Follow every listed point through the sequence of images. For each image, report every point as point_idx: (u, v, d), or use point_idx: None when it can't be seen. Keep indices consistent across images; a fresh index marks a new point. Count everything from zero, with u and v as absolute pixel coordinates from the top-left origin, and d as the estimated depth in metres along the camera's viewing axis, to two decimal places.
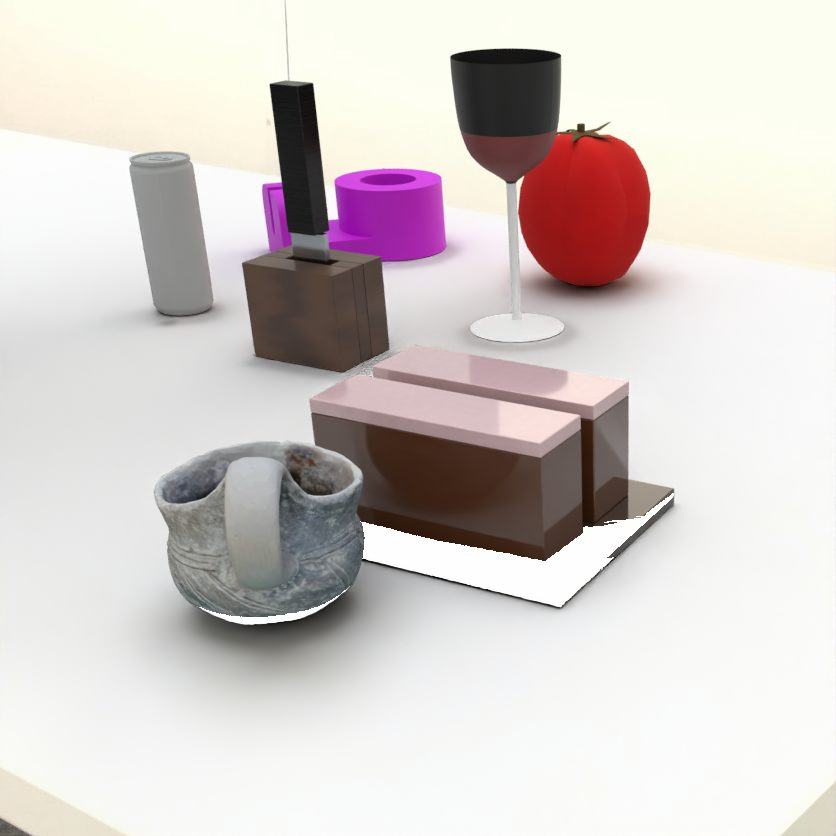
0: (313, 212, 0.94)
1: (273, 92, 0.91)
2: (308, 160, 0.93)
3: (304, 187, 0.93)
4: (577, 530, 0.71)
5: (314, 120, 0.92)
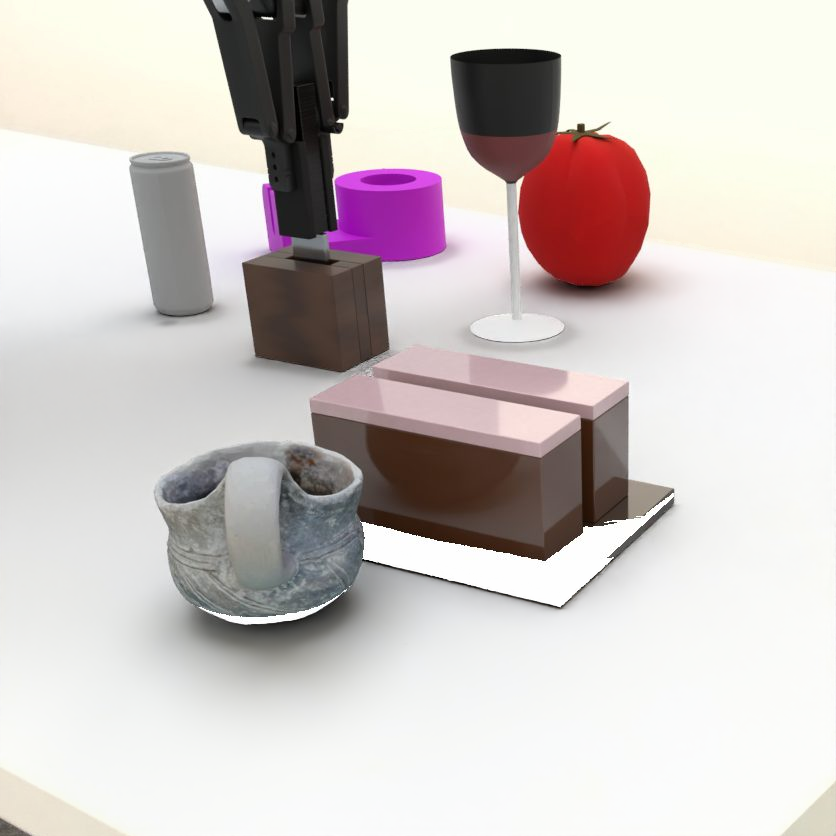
0: None
1: None
2: None
3: None
4: (577, 530, 0.71)
5: (314, 120, 0.92)
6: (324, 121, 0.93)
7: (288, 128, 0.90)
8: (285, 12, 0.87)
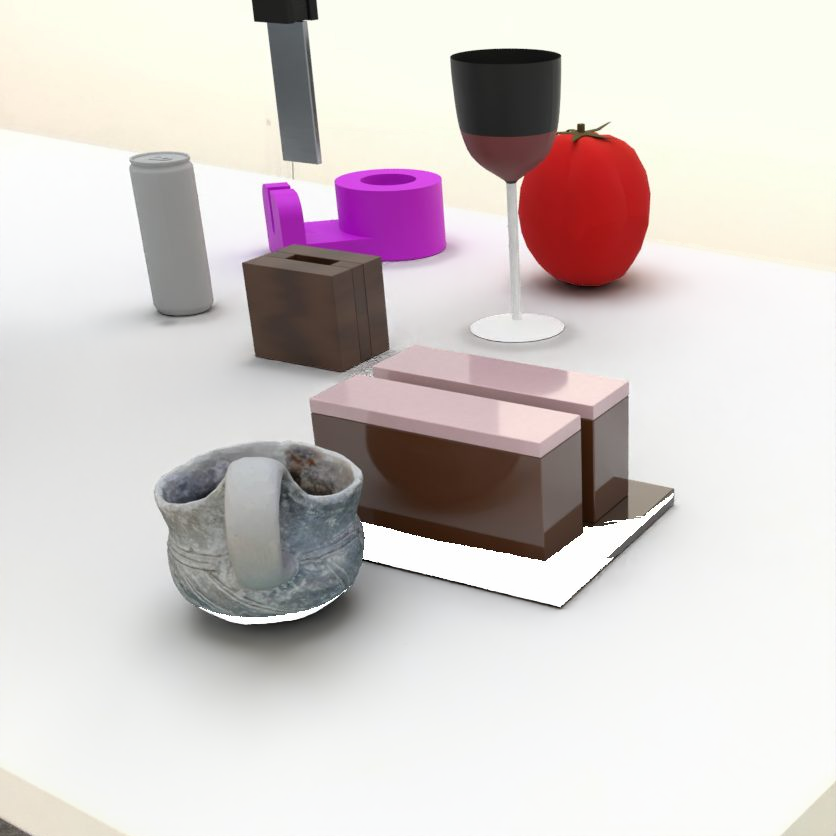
0: None
1: None
2: None
3: None
4: (577, 530, 0.71)
5: None
6: None
7: None
8: None
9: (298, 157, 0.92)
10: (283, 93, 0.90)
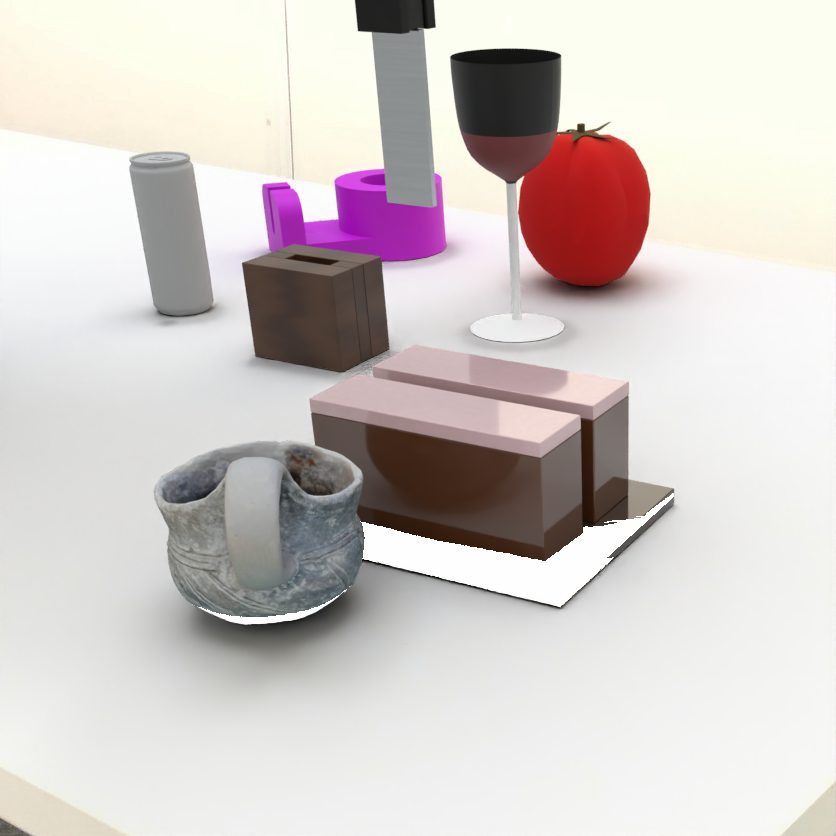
0: None
1: None
2: None
3: None
4: (577, 530, 0.71)
5: None
6: None
7: None
8: None
9: (407, 199, 0.74)
10: (390, 120, 0.72)
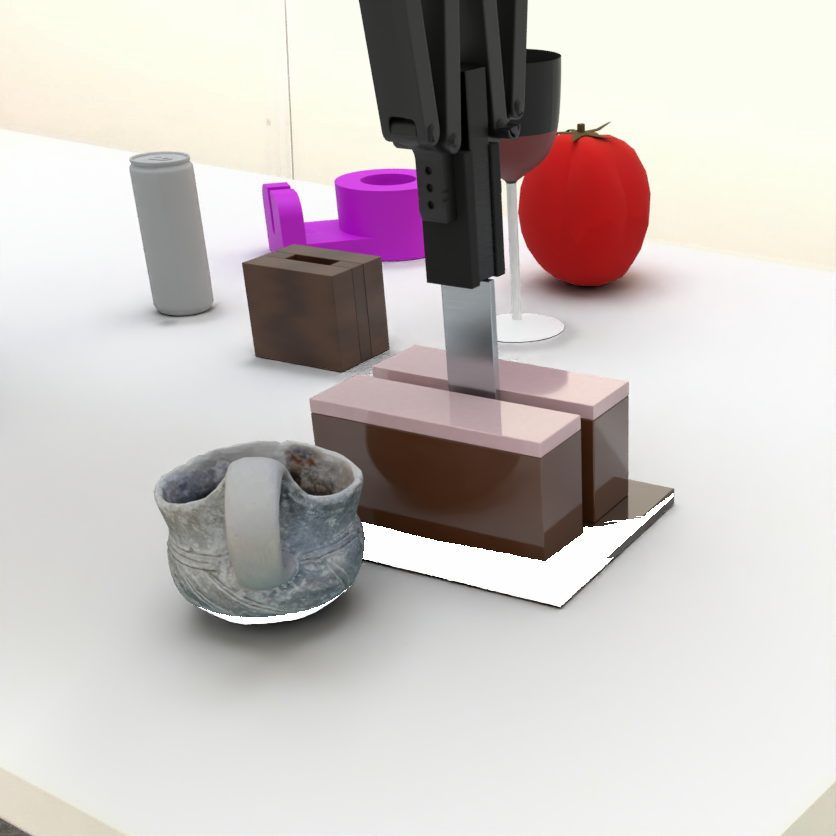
0: None
1: None
2: (474, 177, 0.65)
3: None
4: (577, 530, 0.71)
5: (484, 120, 0.65)
6: (494, 122, 0.66)
7: (452, 132, 0.62)
8: None
9: None
10: (457, 362, 0.71)
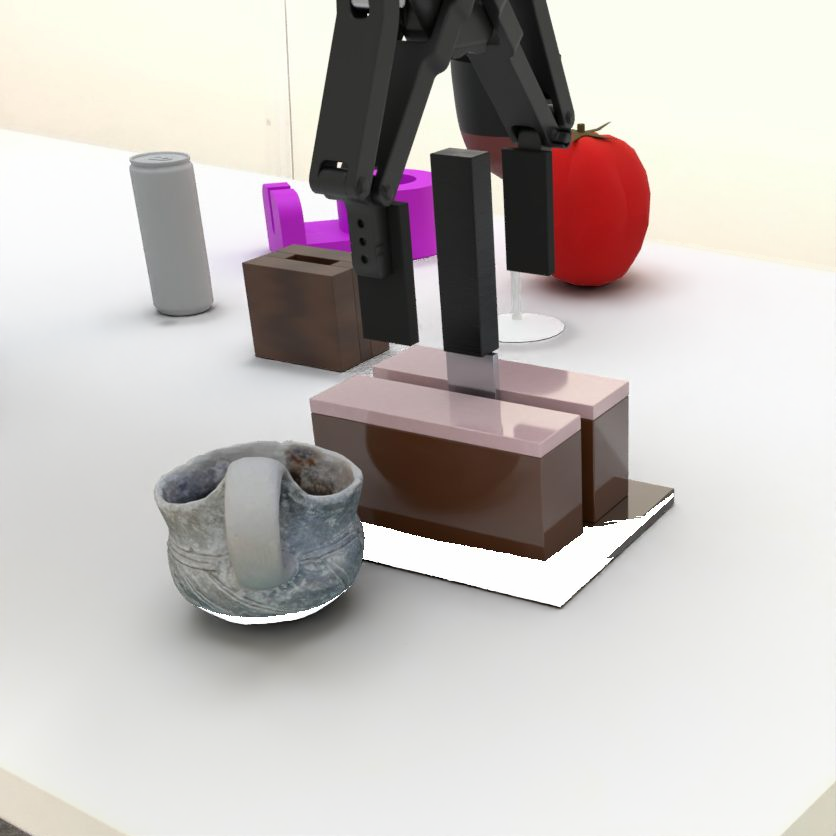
0: (482, 326, 0.69)
1: (435, 165, 0.65)
2: (479, 257, 0.67)
3: (471, 293, 0.68)
4: (577, 530, 0.71)
5: (488, 202, 0.67)
6: (548, 140, 0.71)
7: (388, 182, 0.59)
8: (444, 36, 0.59)
9: None
10: None
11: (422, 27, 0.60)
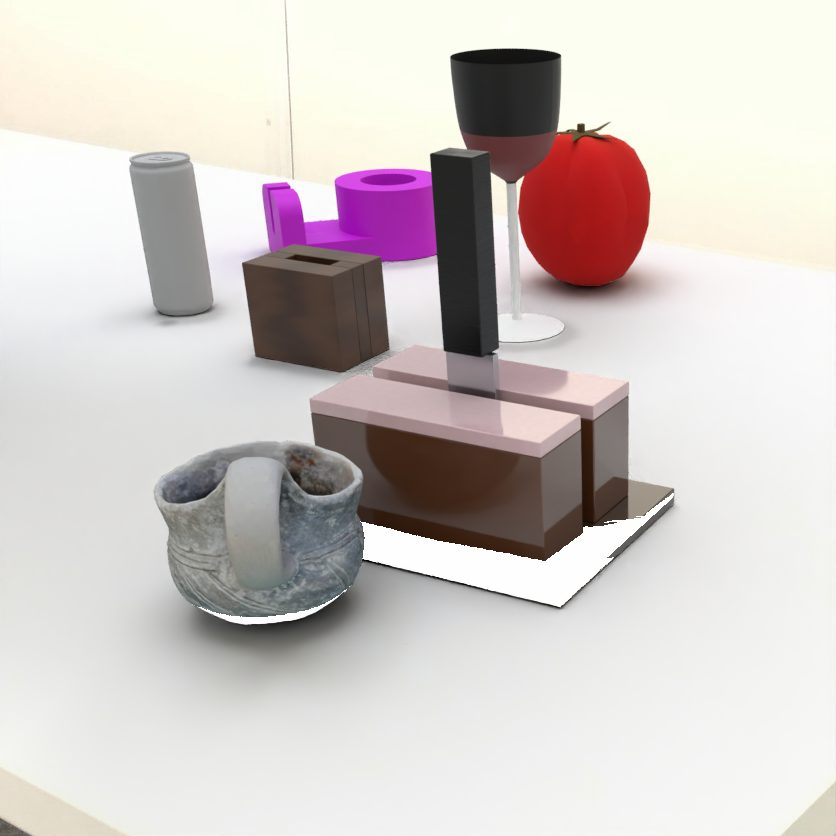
0: (482, 326, 0.69)
1: (435, 165, 0.65)
2: (479, 257, 0.67)
3: (471, 293, 0.68)
4: (577, 530, 0.71)
5: (488, 202, 0.67)
6: None
7: None
8: None
9: None
10: None
11: None
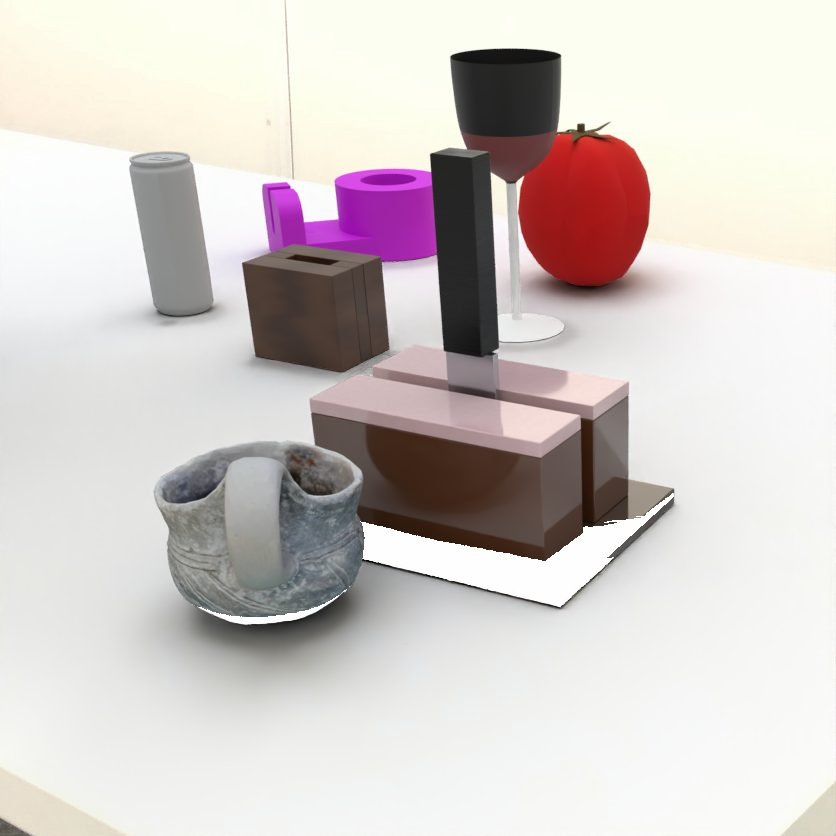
0: (482, 326, 0.69)
1: (435, 165, 0.65)
2: (479, 257, 0.67)
3: (471, 293, 0.68)
4: (577, 530, 0.71)
5: (488, 202, 0.67)
6: None
7: None
8: None
9: None
10: None
11: None
